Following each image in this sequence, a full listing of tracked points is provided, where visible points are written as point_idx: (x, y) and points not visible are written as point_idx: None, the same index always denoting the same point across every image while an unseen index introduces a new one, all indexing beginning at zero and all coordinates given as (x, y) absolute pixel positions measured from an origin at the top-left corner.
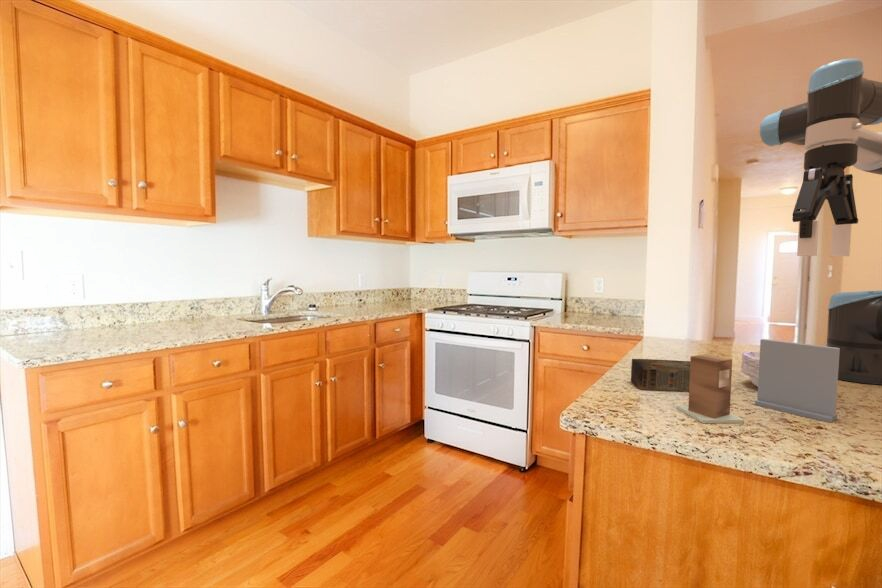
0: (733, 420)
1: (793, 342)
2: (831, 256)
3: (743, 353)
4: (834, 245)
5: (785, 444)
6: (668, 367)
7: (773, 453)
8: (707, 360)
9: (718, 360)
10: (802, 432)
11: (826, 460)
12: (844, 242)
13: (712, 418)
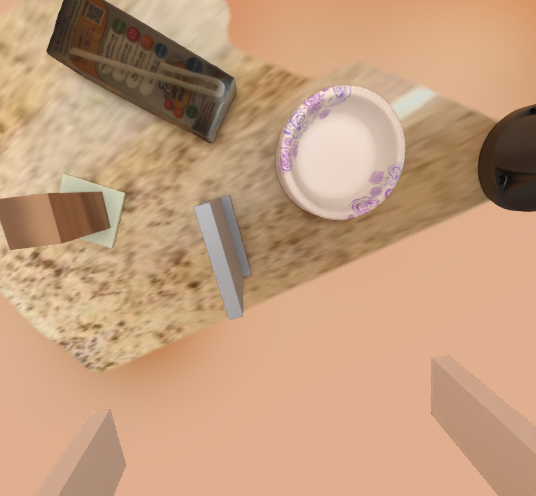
0: (97, 243)
1: (224, 253)
2: (433, 360)
3: (309, 98)
4: (476, 411)
5: (99, 304)
6: (102, 80)
7: (62, 315)
8: (5, 232)
9: (23, 242)
10: (156, 288)
11: (101, 339)
12: (483, 464)
13: None
